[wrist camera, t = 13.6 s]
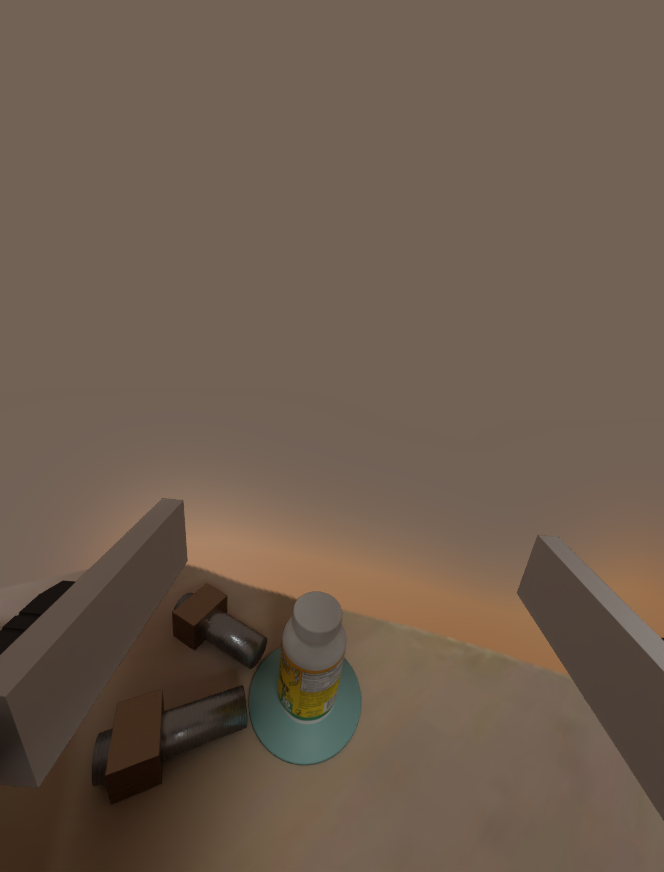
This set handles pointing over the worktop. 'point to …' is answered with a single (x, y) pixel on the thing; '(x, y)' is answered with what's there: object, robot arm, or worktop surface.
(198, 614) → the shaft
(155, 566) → the robot arm
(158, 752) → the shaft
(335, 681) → the supplement bottle
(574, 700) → the worktop surface
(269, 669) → the disc
